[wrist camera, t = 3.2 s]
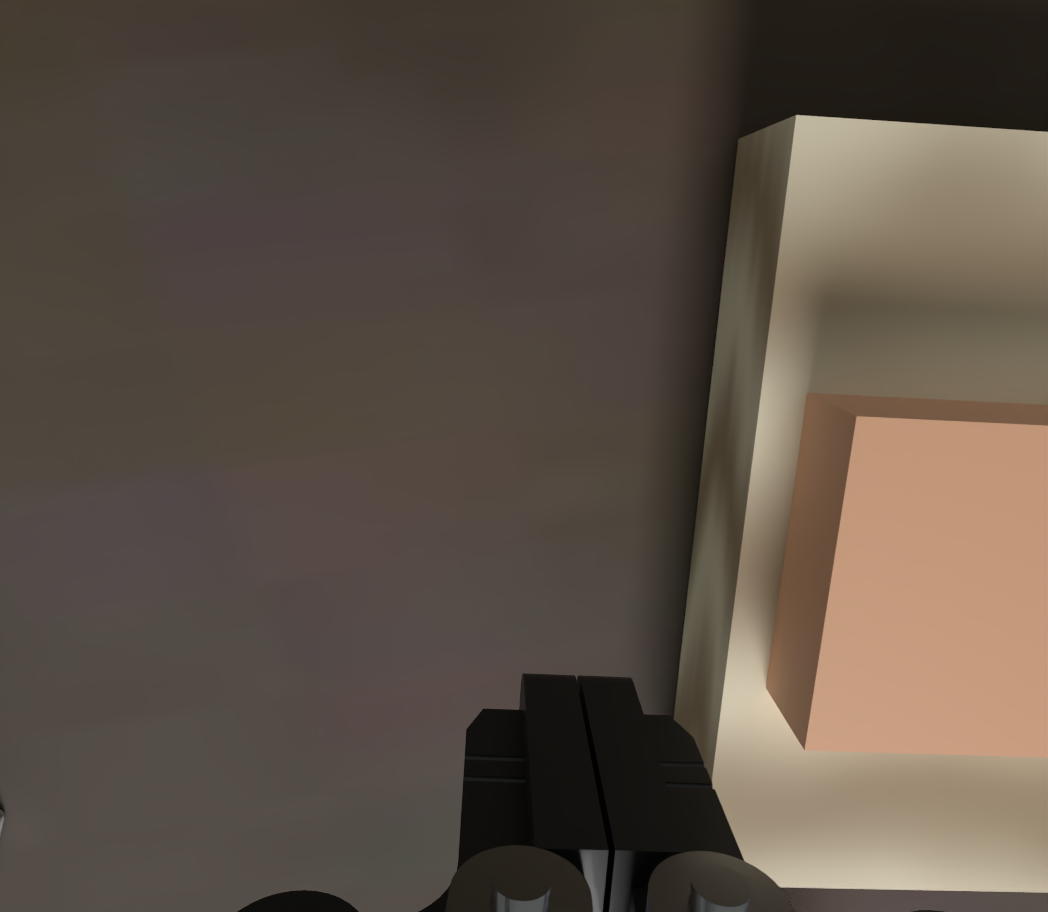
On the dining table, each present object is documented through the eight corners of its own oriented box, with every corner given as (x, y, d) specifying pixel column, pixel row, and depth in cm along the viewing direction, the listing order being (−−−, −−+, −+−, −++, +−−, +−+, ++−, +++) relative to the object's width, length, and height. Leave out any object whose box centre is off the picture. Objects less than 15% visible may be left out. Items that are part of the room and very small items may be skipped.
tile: (807, 392, 18) (856, 415, 16) (1210, 413, 18) (1318, 438, 16) (766, 688, 20) (804, 750, 17) (1135, 700, 20) (1223, 762, 18)
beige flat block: (738, 139, 20) (796, 114, 17) (1286, 174, 21) (1464, 159, 17) (665, 785, 25) (698, 885, 21) (1121, 796, 26) (1234, 896, 22)
